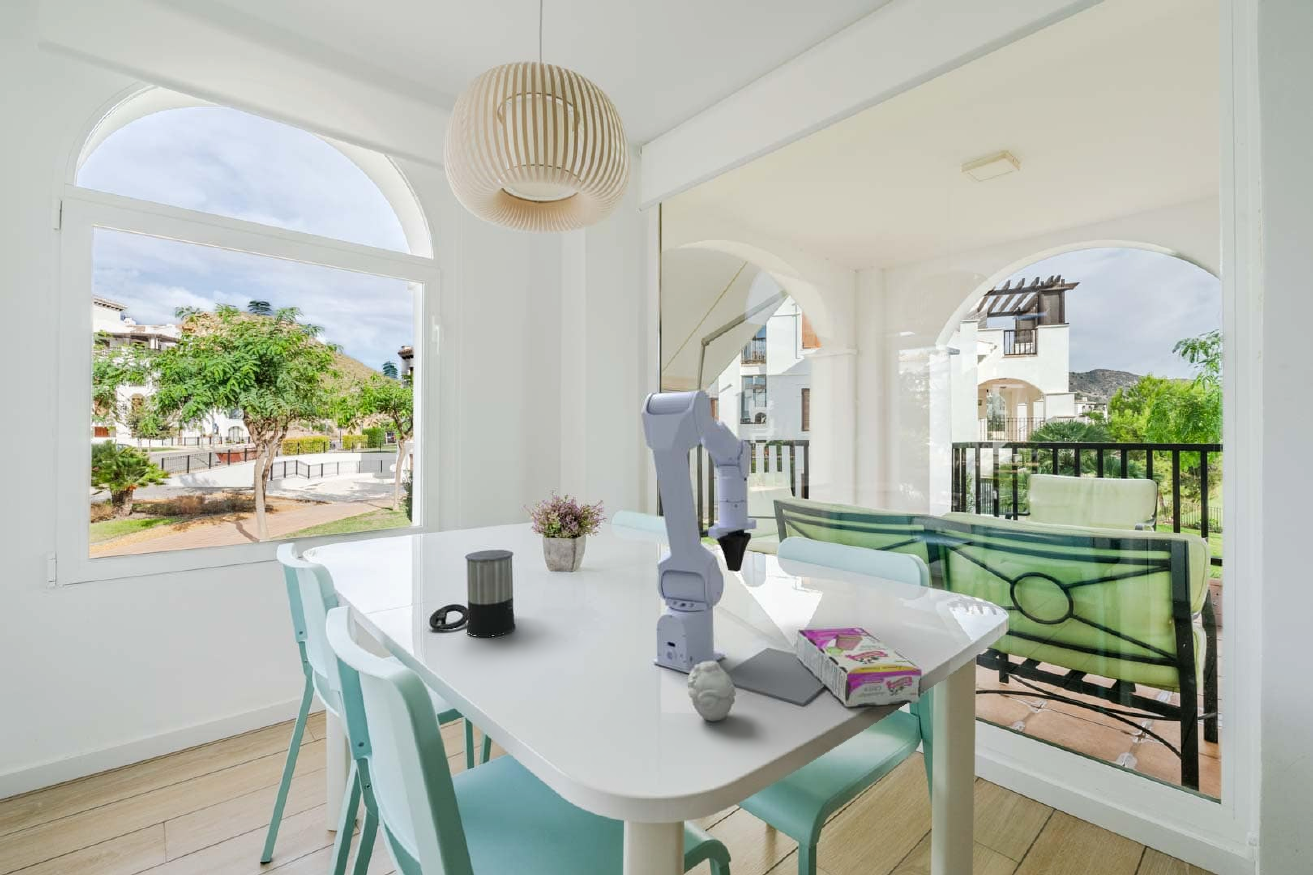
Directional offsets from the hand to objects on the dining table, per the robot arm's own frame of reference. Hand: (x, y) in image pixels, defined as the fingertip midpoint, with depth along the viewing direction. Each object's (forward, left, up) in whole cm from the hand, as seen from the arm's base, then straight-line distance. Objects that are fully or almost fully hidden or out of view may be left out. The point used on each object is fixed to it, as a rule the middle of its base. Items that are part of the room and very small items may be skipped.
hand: (734, 570), depth 115 cm
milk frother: (-32, +40, -11) cm, 53 cm away
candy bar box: (-8, -22, -7) cm, 25 cm away
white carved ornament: (-35, -18, -11) cm, 41 cm away
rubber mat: (-17, -19, -10) cm, 28 cm away
